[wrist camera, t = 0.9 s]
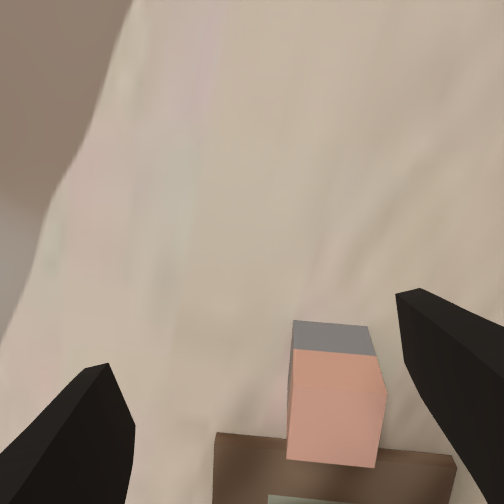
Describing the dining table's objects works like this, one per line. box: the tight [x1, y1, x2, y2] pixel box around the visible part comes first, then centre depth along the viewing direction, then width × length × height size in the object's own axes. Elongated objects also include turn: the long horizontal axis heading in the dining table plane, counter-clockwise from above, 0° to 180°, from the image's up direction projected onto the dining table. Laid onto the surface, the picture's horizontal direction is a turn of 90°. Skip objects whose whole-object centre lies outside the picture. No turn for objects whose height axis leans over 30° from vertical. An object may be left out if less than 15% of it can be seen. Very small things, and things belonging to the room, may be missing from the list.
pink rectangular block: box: [286, 320, 387, 468], centre depth 24 cm, size 4×4×6 cm
